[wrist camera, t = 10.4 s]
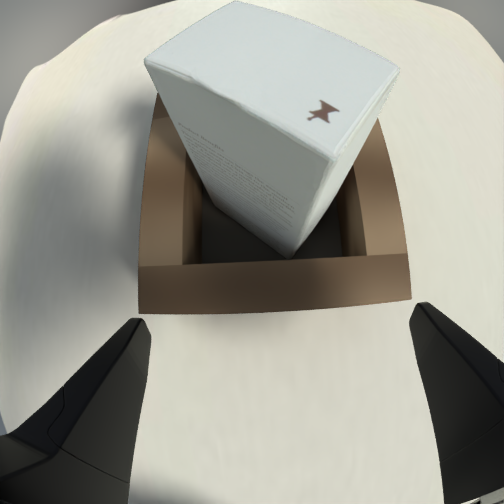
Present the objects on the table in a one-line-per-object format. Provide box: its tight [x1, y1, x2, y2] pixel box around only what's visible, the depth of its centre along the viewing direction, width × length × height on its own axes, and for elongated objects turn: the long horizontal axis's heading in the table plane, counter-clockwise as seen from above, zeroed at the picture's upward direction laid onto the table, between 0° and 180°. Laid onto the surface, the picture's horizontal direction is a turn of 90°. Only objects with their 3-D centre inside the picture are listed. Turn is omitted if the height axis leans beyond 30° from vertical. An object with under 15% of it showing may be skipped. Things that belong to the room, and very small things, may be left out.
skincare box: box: [144, 1, 400, 260], centre depth 11 cm, size 6×4×12 cm
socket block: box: [138, 93, 412, 314], centre depth 16 cm, size 13×13×5 cm
